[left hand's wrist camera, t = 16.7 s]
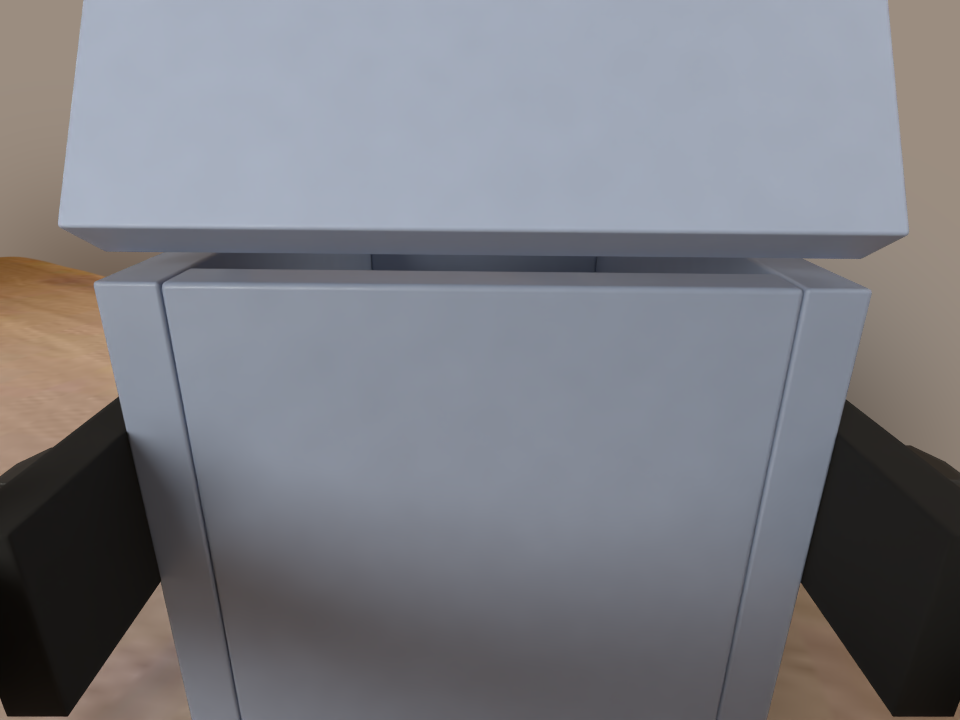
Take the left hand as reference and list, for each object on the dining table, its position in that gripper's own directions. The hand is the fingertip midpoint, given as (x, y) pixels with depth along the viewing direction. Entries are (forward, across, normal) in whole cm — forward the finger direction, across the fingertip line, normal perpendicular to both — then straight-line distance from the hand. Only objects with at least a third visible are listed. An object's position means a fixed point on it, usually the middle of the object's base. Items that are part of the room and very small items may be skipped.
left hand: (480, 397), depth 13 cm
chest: (+4, 0, -7) cm, 8 cm away
